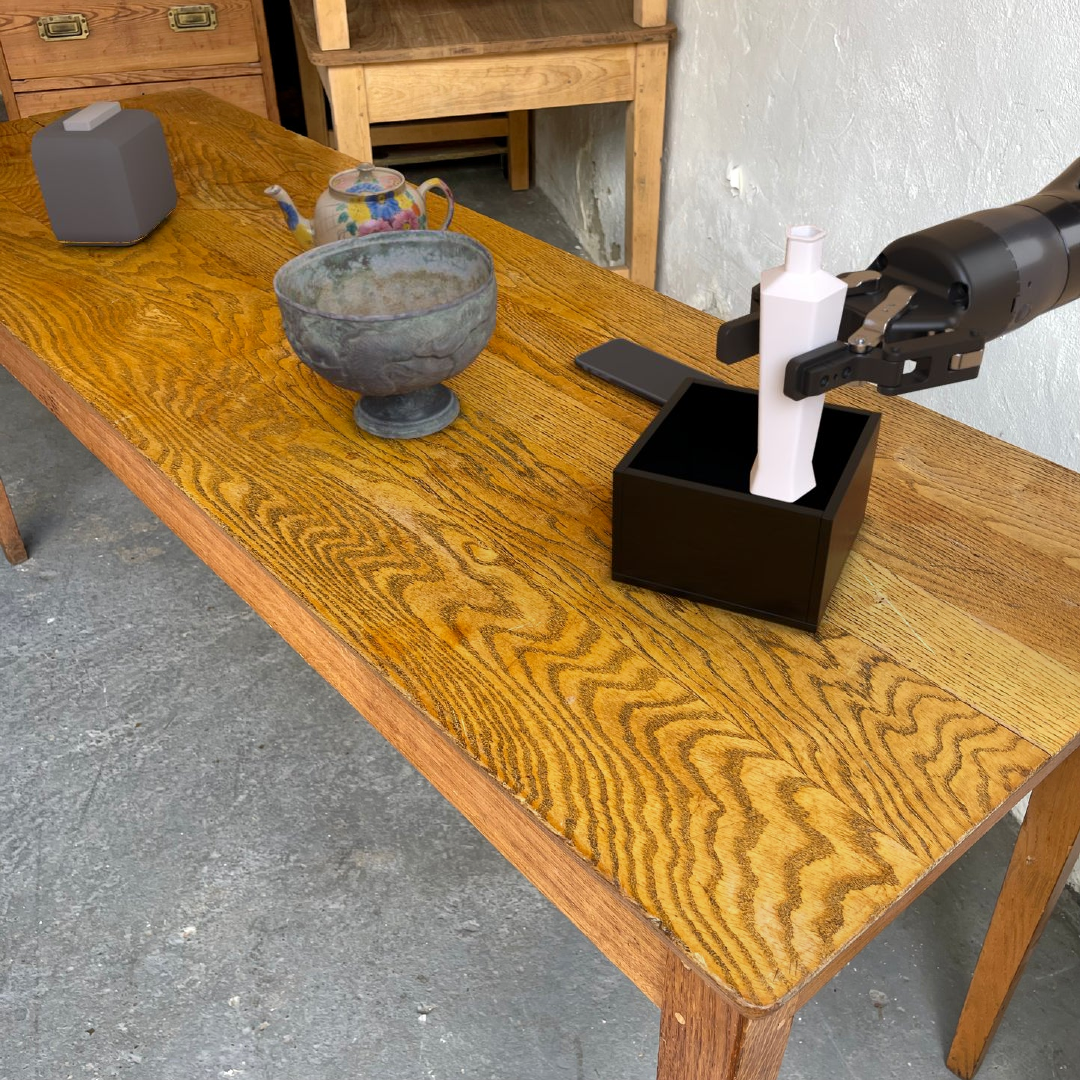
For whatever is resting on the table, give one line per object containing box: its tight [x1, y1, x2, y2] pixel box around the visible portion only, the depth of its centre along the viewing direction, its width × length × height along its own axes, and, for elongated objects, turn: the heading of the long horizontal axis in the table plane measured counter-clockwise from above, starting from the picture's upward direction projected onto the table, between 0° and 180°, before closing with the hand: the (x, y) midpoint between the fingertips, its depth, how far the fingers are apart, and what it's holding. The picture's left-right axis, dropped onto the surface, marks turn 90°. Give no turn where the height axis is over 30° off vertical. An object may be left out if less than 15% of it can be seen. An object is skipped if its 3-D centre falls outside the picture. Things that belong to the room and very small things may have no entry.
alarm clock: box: [30, 101, 178, 247], centre depth 145 cm, size 16×11×16 cm
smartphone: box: [573, 337, 727, 407], centre depth 110 cm, size 7×1×15 cm
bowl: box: [272, 229, 498, 440], centre depth 101 cm, size 20×19×15 cm
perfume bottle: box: [750, 223, 848, 502], centre depth 60 cm, size 5×4×15 cm
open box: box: [610, 377, 883, 635], centre depth 83 cm, size 16×16×10 cm
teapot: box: [263, 161, 455, 252], centre depth 131 cm, size 20×14×13 cm
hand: (755, 363), depth 58 cm, fingers closed on perfume bottle, 4 cm apart
